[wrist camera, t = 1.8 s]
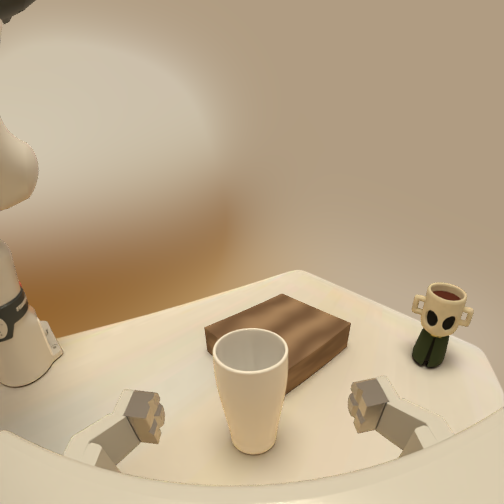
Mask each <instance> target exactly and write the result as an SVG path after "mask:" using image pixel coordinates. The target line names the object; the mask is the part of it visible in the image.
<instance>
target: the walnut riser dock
mask: <svg viewBox="0 0 504 504" xmlns="http://www.w3.org/2000/svg"><path fill="white" fill-rule="evenodd" d="M350 325H351V323H349V322H347V321H345V320H342V319H340V318H337V317H335V316H333V315H330V314H328V313H326V312H323V311H321V310H319V309H316V308H314V307H312V306H309V305H307V304H305V303H302V302H300V301H298V300H295V299H293V298H291V297H289V296H286V295H284V294H280V295H278V296H276V297H274V298H272V299H269V300H267V301H265V302H263V303H260V304H258V305H256V306H254V307H251V308H249V309H247V310H245V311H242V312H240V313H238V314H235V315H233V316H231V317H228V318H226V319H224V320H221V321H219V322H216V323H214V324H212V325H209V326H207V327H204V328H205V336H206V343H207V350H208V352H209V353H210V354H211V355H213V347H214V345H215V343H216V342H217V341H218V339H220V338H221V337H222V336H224V335H225V334H227V333H229V332H232V331H235V330H239V329H245V328H258V329H265V330H268V331H271V332H274V333H276V334H278V335H279V336H281V337H282V338H283V339H284V340H285V342H286V343H287V346H288V379H287V386H286V391H285V395H286V394H287V393H288V392H290V391H291V390H293V389H294V388H295V387H297V386H298V385H299V384H301V383H302V382H303V381H305V380H306V379H307V378H309V377H310V376H311V375H313V374H314V373H315V372H316V371H318V370H319V369H320V368H322V367H323V366H324V365H325V364H327V363H328V362H329V361H330V360H331V359H333V358H334V357H335V356H336V355H337V354H339V353H340V352H341V351H342V350H343V349H345V348H346V347H347V342H348V336H349V331H350Z"/></svg>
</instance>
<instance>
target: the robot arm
mask: <svg viewBox="0 0 504 504" xmlns="http://www.w3.org/2000/svg"><path fill="white" fill-rule="evenodd" d="M34 1H35V0H0V41H1V30H2V22H3V23H4V24H6V23H8V22H9V21H10V19H11V17H12V16H14V15H16V14H18V13H20V12H21V11H23V10H25V9H26V8H27V7H28V6H29V5H31V4H32V3H33V2H34ZM37 179H38V161H37V158H36V155H35V153H34V151H33V149H32V148H31V147H30V146H29V145H28V144H27V143H26V142H23V141H21V140H19V139H18V138H16V137H15V136H14V135H13V134H11V133H10V132H9V130H8V129H7V128H6V126H5V125H4V123H3V122H2V119H1V117H0V211H2V210H5V209H8V208H10V207H12V206H14V205H16V204H18V203H20V202H22V201H24V200H26V199H28V198H29V197H30V196H31V194H32V192H33V191H34V188H35V186H36V183H37ZM62 353H63V351H62V349H61V347H60V345H59V343H58V342H57V340H56V338H55V336H54V334H53V332H52V330H51V328H50V326H49V325H48V322H47V321H40V320H39V319H38V318H37V315H36V313H35V310H34V308H33V307H31V306H30V305H28V301H27V299H26V295H25V293H24V291H23V289H22V286H21V283H20V282H19V281H18V278H17V274H16V271H15V266H14V262H13V259H12V254H11V251H10V249H9V247H8V246H7V244H6V243H4V241H2V240H0V382H1V383H3V384H4V385H7V386H12V387H17V386H23V385H26V384H29V383H31V382H33V381H35V380H37V379H38V378H40V377H41V376H42V375H43V374H44V373H45V372H46V371H47V370H48V369H49V367H50V366H51V364H52V363H53V362H54V361H55V360H56V359H57V358H58V357H60V356H61V355H62ZM351 391H352V393H351V394H350V395H349V398H348V409H349V413H350V415H351V416H352V417H354V418H355V419H354V422H353V423H354V425H355V428H356V430H357V433H363V432H367V431H372V430H376V431H377V432H378V433H380V434H381V435H382V436H384V437H385V438H386V439H388V440H389V441H391V442H392V443H393V444H395V445H396V446H398V447H399V448H400V449H402V450H403V451H402V453H401V454H400V456H399V458H397V459H394V460H391V461H388V462H385V463H382V464H379V465H375V466H372V467H368V468H365V469H361V470H357V471H353V472H348V473H344V474H339V475H335V476H329V477H324V478H318V479H312V480H305V481H298V482H290V483H280V484H267V485H244V486H222V485H199V484H187V483H177V482H169V481H161V480H155V479H149V478H143V477H138V476H133V475H128V474H123V473H121V472H120V470H119V469H118V468H117V467H116V465H117V464H118V463H119V462H120V461H121V460H122V459H124V458H125V457H126V456H127V455H128V454H129V453H130V452H131V451H132V450H133V449H134V448H135V447H137V446H138V445H139V444H140V442H144V443H153V444H159V440H160V436H161V431H160V429H159V428H160V427H162V426H163V425H164V421H165V412H164V408H163V406H162V405H161V404H160V403H159V401H160V397H159V395H158V393H154V392H145V391H137V390H128V389H125V390H124V391H123V392H122V394H121V396H120V398H119V400H118V402H117V404H116V406H115V409H114V411H113V413H112V414H108V415H106V416H105V417H103V418H101V419H100V420H98V421H97V422H95V423H93V424H92V425H90V426H88V427H87V428H85V429H84V430H82V431H80V432H79V433H77V434H75V435H74V436H72V438H71V440H70V442H69V444H68V445H67V447H66V449H65V451H64V453H63V455H60V454H58V453H55V452H53V451H50V450H48V449H45V448H43V447H41V446H38V445H36V444H34V443H32V442H30V441H27V440H25V439H23V438H21V437H19V436H17V435H15V434H14V433H12V432H10V431H7V430H2V431H0V504H504V407H502V408H500V409H499V410H497V411H496V412H494V413H493V414H491V415H489V416H488V417H486V418H484V419H483V420H481V421H479V422H478V423H476V424H474V425H472V426H470V427H468V428H467V429H465V430H463V431H461V432H459V433H457V434H454V433H453V431H452V430H451V428H450V427H449V425H448V424H447V422H446V421H445V419H444V418H443V417H442V416H440V415H438V414H435V413H433V412H431V411H429V410H427V409H425V408H423V407H421V406H418V405H416V404H414V403H412V402H410V401H408V400H406V399H404V398H402V399H400V397H399V396H398V394H397V392H396V391H395V389H394V388H393V386H392V384H391V383H390V381H389V380H388V378H387V377H386V376H381V377H376V378H372V379H367V380H362V381H358V382H353V383H352V386H351Z"/></svg>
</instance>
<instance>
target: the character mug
mask: <svg viewBox="0 0 504 504" xmlns="http://www.w3.org/2000/svg"><path fill="white" fill-rule="evenodd" d="M466 299H467V295H466V293H465V292H464V291H463V290H462V289H461V288H459V287H457V286H455V285H452V284H448V283H442V282H441V283H433V284H430V285H429V287H428V289H427V293H426V296H422V295H415V297H414V301H413V306H412V312H414V313H416V314H420V315H421V325H422V326H423V329H422V331H421V333H420V335H419V337H418V339H417V341H416V344H415V346H414V348H413V353H412V356H413V358H414V359H415V361H416V362H418V363H419V364H421V365H423V362H424V360H425V361H429V362H428V365H427V367H435V366H438V365H440V364H441V363H442V361H443V359H444V356H445V353H446V349H447V345H448V340H449V335H451V334H453V333H454V332H455V331H456V329H457V328H458V325H461V326H465V327H467V326H469V324H470V322H471V319H472V315H473V312H474V310H473V309H472V308H469V307H465V303H466ZM419 301H423V302H424V306H423V309H420V308H418V304H419ZM463 312H465V313H468V314H467V317H466V320H461V316H462V313H463Z"/></svg>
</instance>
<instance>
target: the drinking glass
mask: <svg viewBox="0 0 504 504" xmlns="http://www.w3.org/2000/svg"><path fill="white" fill-rule="evenodd" d="M213 364H214V373H215V380H216V385H217V389H218V393H219V397H220V400H221V403H222V407H223V410H224V413H225V416H226V420H227V423H228V426H229V429H230V433H231V439H232V442H233V444H234V446H235V447H236V448H237V449H238V450H240V451H241V452H244V453H247V454H261V453H264V452H266V451H268V450H269V449H270V448H271V447H272V446H273V445H274V443H275V441H276V436H277V428H278V424H279V419H280V415H281V410H282V406H283V401H284V396H285V391H286V386H287V379H288V346H287V343H286V342H285V340H284V339H283V338H282V337H281V336H279V335H278V334H276V333H274V332H271V331H268V330H265V329H258V328H245V329H239V330H235V331H232V332H229V333H227V334H225V335H224V336H222V337H221V338H220V339H218V341H217V342H216V343H215V345H214V347H213Z"/></svg>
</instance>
